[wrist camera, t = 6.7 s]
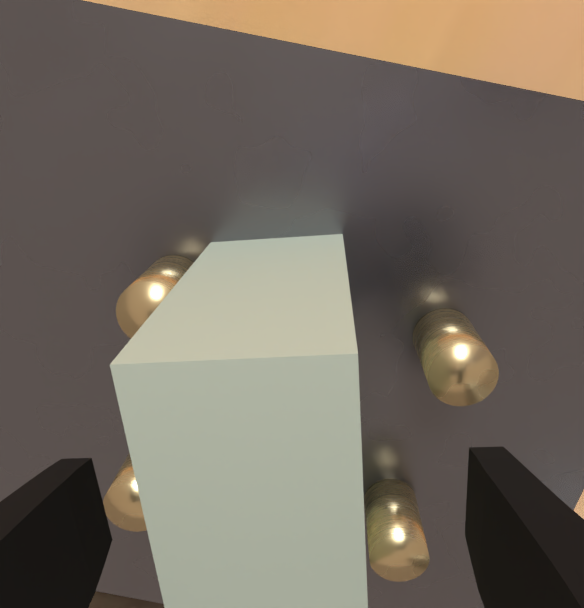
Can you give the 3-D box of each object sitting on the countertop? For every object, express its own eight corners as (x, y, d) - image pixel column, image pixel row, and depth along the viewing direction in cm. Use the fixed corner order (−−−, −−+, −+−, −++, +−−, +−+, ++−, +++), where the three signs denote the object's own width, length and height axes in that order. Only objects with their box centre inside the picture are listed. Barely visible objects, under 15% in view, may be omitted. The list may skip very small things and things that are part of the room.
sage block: (342, 234, 12) (357, 353, 6) (355, 517, 15) (374, 775, 9) (210, 242, 12) (110, 364, 6) (248, 518, 15) (201, 772, 9)
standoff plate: (721, 133, 11) (849, 142, 9) (487, 636, 17) (519, 739, 14) (-5, -13, 11) (-114, -51, 8) (6, 545, 17) (-57, 632, 14)
